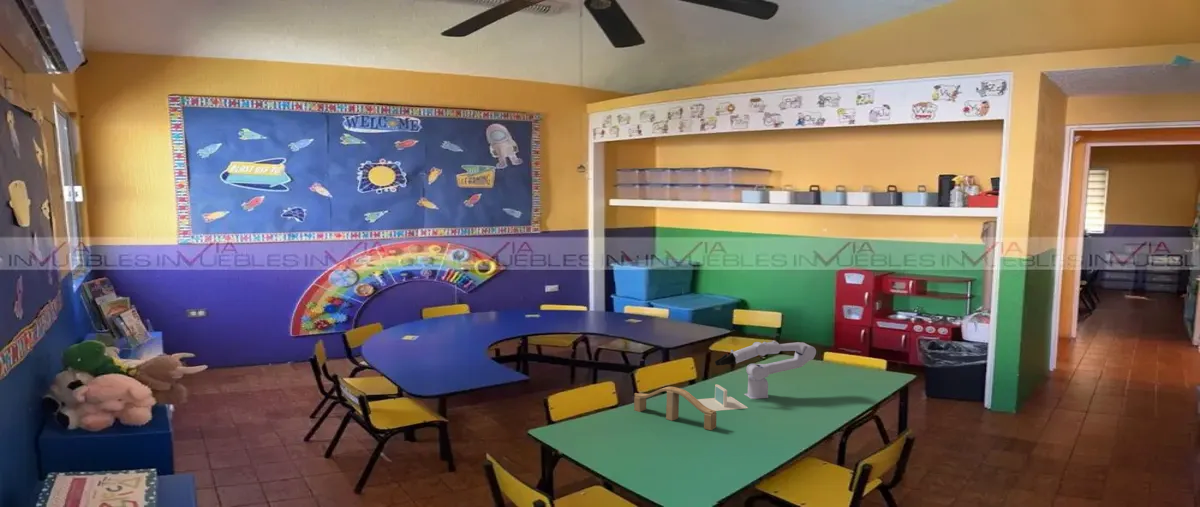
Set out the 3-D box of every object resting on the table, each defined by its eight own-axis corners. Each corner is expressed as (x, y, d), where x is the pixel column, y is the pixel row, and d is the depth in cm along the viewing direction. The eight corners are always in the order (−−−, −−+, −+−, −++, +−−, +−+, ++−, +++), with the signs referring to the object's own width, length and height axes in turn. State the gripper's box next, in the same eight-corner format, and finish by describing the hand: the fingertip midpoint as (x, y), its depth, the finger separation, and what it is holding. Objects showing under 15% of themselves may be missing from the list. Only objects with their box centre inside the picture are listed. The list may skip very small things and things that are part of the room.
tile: (717, 400, 345) (717, 384, 344) (726, 406, 335) (727, 390, 335) (714, 400, 345) (714, 384, 344) (723, 407, 335) (723, 390, 334)
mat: (731, 397, 351) (731, 396, 351) (748, 408, 334) (748, 407, 334) (689, 400, 345) (689, 399, 345) (705, 412, 328) (705, 411, 328)
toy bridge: (716, 428, 308) (717, 396, 307) (710, 431, 304) (711, 399, 302) (638, 407, 335) (638, 377, 334) (630, 410, 331) (631, 380, 329)
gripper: (735, 347, 357) (710, 356, 354) (745, 346, 342) (719, 354, 340) (740, 360, 356) (715, 369, 353) (750, 360, 342) (724, 369, 339)
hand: (717, 363), depth 347 cm, fingers open, 7 cm apart
